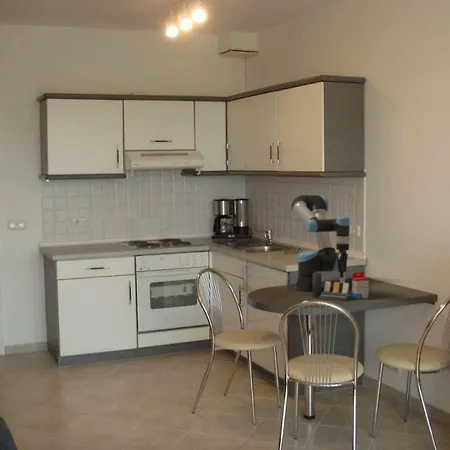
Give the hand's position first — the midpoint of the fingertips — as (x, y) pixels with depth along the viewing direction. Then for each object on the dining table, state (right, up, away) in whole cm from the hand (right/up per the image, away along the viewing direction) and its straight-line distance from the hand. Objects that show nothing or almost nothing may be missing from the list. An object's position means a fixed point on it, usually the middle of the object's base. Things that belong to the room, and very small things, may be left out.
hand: (342, 282), depth 422 cm
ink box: (+9, -8, -7) cm, 14 cm away
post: (-16, -8, -4) cm, 18 cm away
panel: (-5, -8, -9) cm, 14 cm away
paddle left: (-10, -5, -7) cm, 13 cm away
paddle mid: (-5, -5, -10) cm, 12 cm away
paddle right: (-1, -5, -12) cm, 13 cm away
